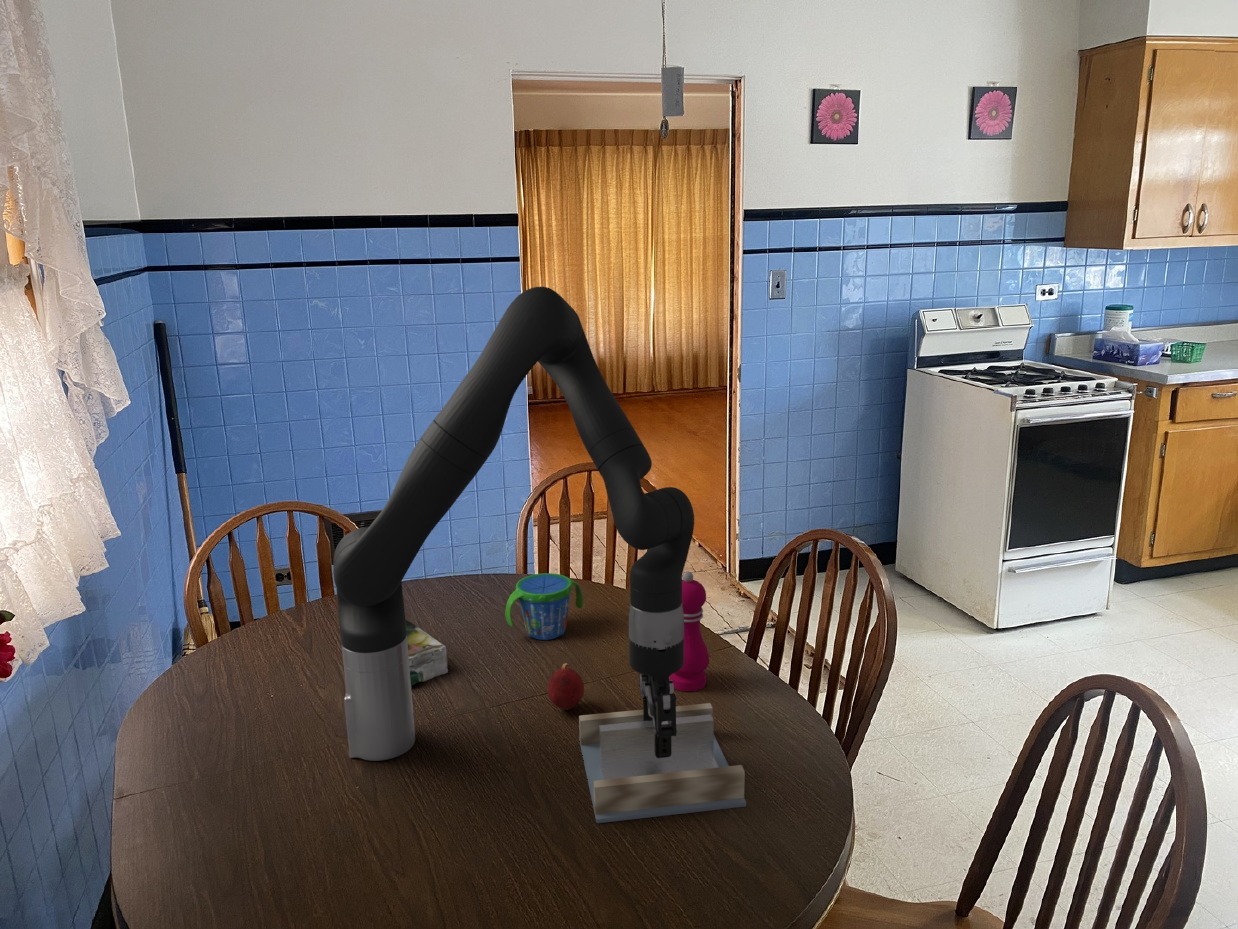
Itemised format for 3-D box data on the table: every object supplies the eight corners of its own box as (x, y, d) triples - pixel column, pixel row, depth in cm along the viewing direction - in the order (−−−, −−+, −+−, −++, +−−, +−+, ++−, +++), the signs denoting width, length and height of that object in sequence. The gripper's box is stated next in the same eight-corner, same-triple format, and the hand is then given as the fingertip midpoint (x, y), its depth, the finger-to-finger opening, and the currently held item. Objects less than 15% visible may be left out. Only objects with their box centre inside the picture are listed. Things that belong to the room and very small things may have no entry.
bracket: (606, 793, 121) (605, 749, 120) (600, 768, 127) (599, 725, 125) (721, 781, 124) (722, 737, 122) (710, 756, 129) (710, 714, 128)
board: (596, 823, 116) (596, 819, 116) (579, 739, 135) (578, 736, 135) (746, 806, 119) (746, 802, 119) (708, 726, 138) (708, 723, 138)
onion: (579, 721, 140) (578, 674, 138) (543, 717, 142) (542, 671, 140) (588, 702, 146) (587, 657, 144) (554, 699, 147) (552, 654, 145)
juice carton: (454, 674, 156) (451, 642, 155) (403, 694, 150) (400, 661, 149) (398, 638, 171) (395, 608, 169) (349, 655, 165) (346, 624, 163)
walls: (595, 814, 117) (594, 787, 116) (579, 739, 134) (579, 715, 133) (744, 798, 120) (744, 771, 119) (709, 726, 137) (710, 703, 136)
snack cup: (516, 652, 164) (513, 600, 161) (498, 630, 173) (495, 581, 170) (594, 635, 170) (593, 585, 167) (573, 614, 179) (571, 567, 177)
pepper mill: (660, 689, 150) (659, 577, 145) (674, 670, 156) (674, 561, 151) (701, 696, 147) (702, 582, 142) (714, 677, 154) (715, 567, 149)
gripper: (620, 614, 128) (622, 716, 132) (638, 659, 115) (639, 771, 119) (672, 609, 129) (672, 711, 134) (695, 654, 116) (694, 765, 120)
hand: (656, 739), depth 126 cm, fingers open, 8 cm apart
